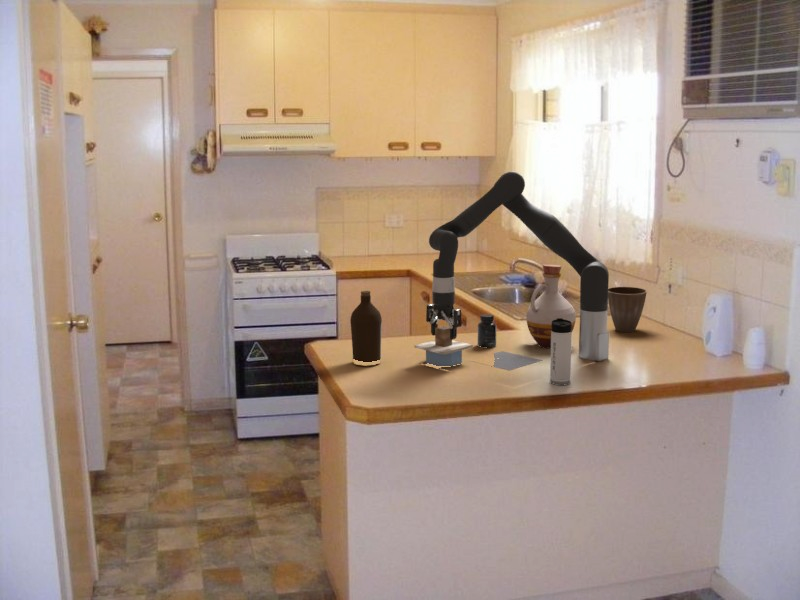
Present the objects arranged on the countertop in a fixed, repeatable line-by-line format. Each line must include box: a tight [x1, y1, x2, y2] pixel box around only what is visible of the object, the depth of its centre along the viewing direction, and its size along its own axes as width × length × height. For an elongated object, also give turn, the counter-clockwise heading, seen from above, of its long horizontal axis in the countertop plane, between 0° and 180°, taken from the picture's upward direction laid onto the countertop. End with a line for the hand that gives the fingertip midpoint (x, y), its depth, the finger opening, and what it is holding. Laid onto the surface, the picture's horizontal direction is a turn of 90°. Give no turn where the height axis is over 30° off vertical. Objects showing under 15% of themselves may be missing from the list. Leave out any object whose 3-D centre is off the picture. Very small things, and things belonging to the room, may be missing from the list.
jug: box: [525, 264, 577, 349], centre depth 327 cm, size 20×18×30 cm
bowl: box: [425, 350, 463, 366], centre depth 306 cm, size 12×12×6 cm
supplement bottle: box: [477, 313, 497, 349], centre depth 328 cm, size 7×7×12 cm
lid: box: [413, 325, 474, 355], centre depth 305 cm, size 14×14×7 cm
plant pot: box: [608, 286, 648, 333], centre depth 351 cm, size 15×15×16 cm
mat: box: [493, 350, 544, 371], centre depth 309 cm, size 18×18×1 cm
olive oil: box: [350, 290, 383, 362], centre depth 307 cm, size 11×11×25 cm
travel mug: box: [549, 318, 573, 386], centre depth 282 cm, size 6×7×20 cm
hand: (443, 337), depth 305 cm, fingers open, 8 cm apart
